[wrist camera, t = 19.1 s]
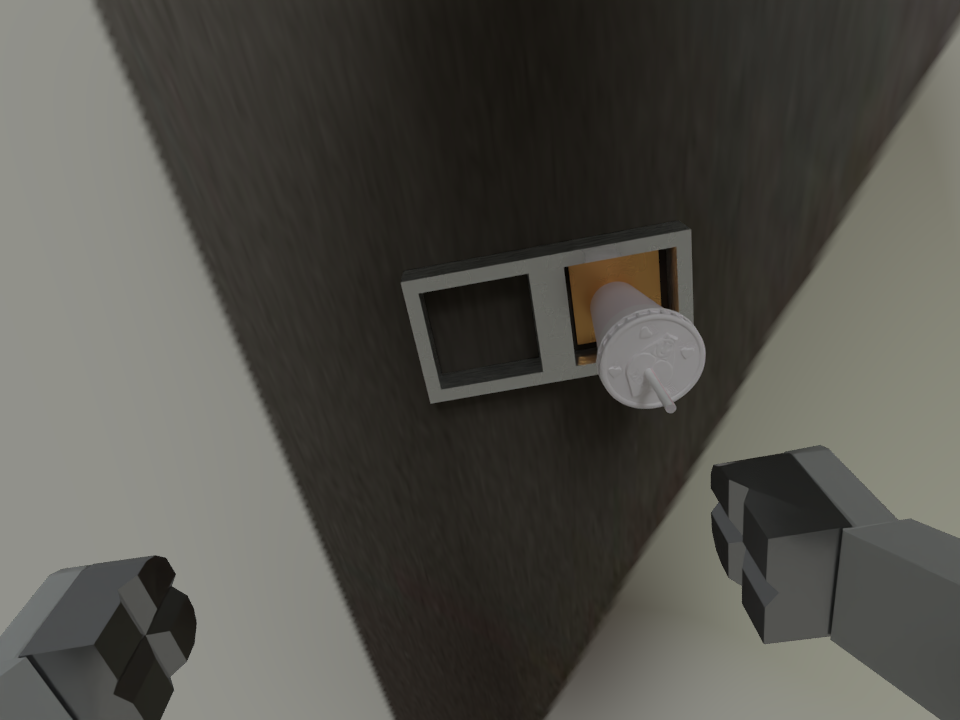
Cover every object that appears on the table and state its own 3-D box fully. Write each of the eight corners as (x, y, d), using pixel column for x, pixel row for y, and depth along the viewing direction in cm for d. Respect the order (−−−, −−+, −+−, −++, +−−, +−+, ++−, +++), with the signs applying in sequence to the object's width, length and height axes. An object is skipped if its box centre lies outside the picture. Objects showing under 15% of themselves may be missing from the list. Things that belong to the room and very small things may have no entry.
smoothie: (555, 325, 45) (594, 425, 33) (599, 248, 43) (659, 325, 30) (629, 357, 47) (692, 466, 34) (675, 285, 44) (762, 373, 32)
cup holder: (403, 270, 44) (400, 282, 41) (678, 220, 43) (691, 229, 40) (431, 387, 48) (430, 403, 46) (683, 343, 47) (694, 357, 45)
